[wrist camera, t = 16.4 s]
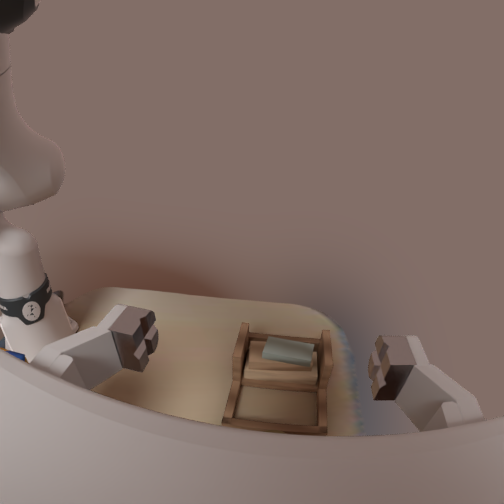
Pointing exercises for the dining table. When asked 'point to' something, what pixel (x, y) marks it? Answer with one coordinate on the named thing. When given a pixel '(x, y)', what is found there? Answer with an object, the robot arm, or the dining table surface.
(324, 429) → the rack
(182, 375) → the dining table surface
